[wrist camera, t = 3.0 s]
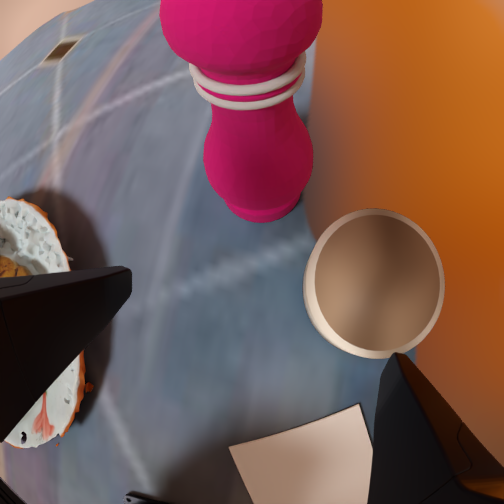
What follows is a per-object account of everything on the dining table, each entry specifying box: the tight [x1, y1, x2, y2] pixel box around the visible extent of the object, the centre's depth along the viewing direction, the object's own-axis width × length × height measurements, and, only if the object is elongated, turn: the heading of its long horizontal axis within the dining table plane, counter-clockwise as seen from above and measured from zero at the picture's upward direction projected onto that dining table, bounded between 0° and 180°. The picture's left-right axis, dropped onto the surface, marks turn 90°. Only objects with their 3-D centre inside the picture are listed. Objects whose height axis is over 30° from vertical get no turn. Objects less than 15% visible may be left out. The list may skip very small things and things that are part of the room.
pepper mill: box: [159, 0, 323, 223], centre depth 14 cm, size 7×7×20 cm
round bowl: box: [302, 208, 445, 359], centre depth 20 cm, size 10×10×3 cm
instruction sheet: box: [229, 404, 373, 504], centre depth 17 cm, size 10×14×1 cm
